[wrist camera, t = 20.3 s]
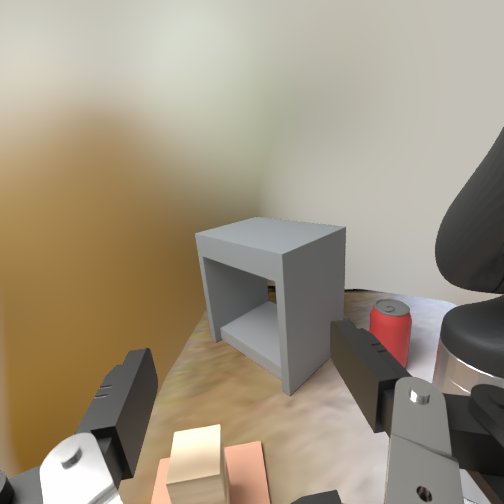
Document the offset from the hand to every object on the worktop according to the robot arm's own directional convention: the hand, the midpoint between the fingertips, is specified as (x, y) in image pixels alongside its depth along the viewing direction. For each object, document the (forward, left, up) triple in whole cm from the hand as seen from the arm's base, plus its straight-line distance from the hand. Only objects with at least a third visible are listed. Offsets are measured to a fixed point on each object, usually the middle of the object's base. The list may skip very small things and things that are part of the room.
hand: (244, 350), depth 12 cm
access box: (-8, -39, -30) cm, 50 cm away
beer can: (-27, -28, -30) cm, 49 cm away
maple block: (+6, -10, -29) cm, 32 cm away
